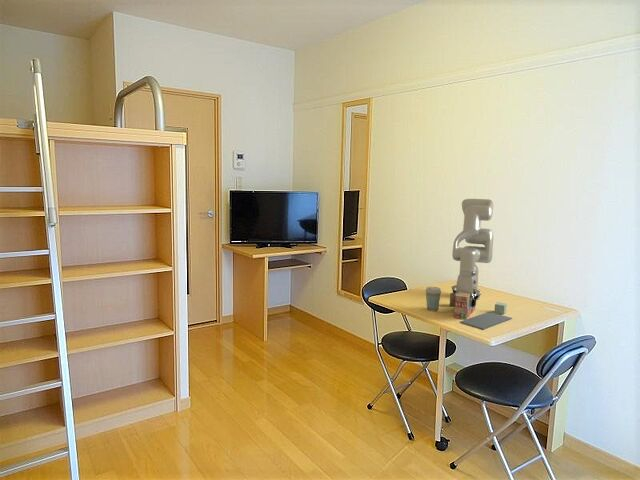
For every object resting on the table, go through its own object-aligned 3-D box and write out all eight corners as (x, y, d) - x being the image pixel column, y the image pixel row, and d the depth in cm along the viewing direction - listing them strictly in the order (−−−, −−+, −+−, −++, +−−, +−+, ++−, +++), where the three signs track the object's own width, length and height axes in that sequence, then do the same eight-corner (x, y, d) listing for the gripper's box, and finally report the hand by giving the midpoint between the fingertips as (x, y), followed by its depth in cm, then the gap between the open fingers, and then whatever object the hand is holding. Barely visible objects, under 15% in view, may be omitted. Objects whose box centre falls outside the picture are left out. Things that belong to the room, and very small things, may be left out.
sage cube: (496, 310, 248) (497, 302, 248) (506, 312, 246) (507, 303, 245) (494, 313, 244) (494, 304, 244) (503, 314, 242) (504, 305, 241)
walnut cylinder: (453, 304, 260) (453, 292, 259) (460, 306, 257) (461, 294, 256) (447, 305, 257) (448, 293, 256) (455, 307, 254) (456, 295, 252)
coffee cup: (428, 306, 255) (429, 285, 253) (443, 309, 250) (444, 288, 248) (421, 309, 249) (422, 288, 247) (436, 312, 243) (437, 291, 242)
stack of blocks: (463, 307, 254) (464, 286, 252) (475, 309, 251) (476, 287, 249) (454, 317, 236) (455, 294, 234) (466, 319, 232) (467, 296, 231)
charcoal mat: (488, 312, 244) (489, 311, 244) (511, 318, 234) (512, 317, 234) (459, 322, 227) (460, 321, 227) (483, 329, 217) (483, 328, 217)
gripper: (485, 275, 235) (483, 307, 238) (457, 269, 249) (455, 300, 251) (477, 277, 231) (475, 309, 233) (448, 271, 244) (447, 302, 246)
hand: (465, 304), depth 242 cm, fingers open, 9 cm apart
